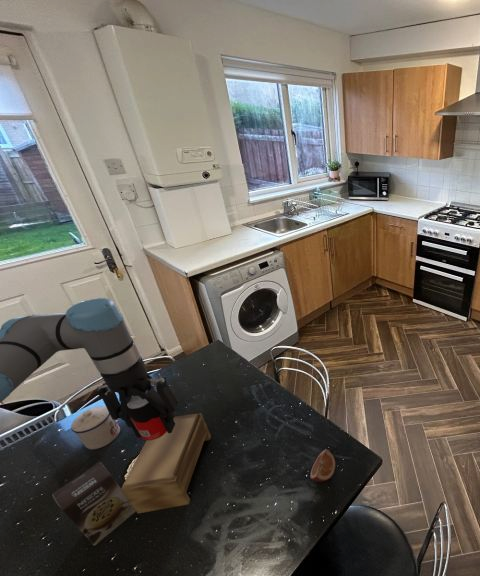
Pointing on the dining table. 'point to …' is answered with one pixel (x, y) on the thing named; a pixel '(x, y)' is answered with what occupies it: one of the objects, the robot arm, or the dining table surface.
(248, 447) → the dining table surface
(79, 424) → the white round tub
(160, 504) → the tan boxy piece
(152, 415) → the beverage can
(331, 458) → the fruit slice
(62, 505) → the brown cardboard box
